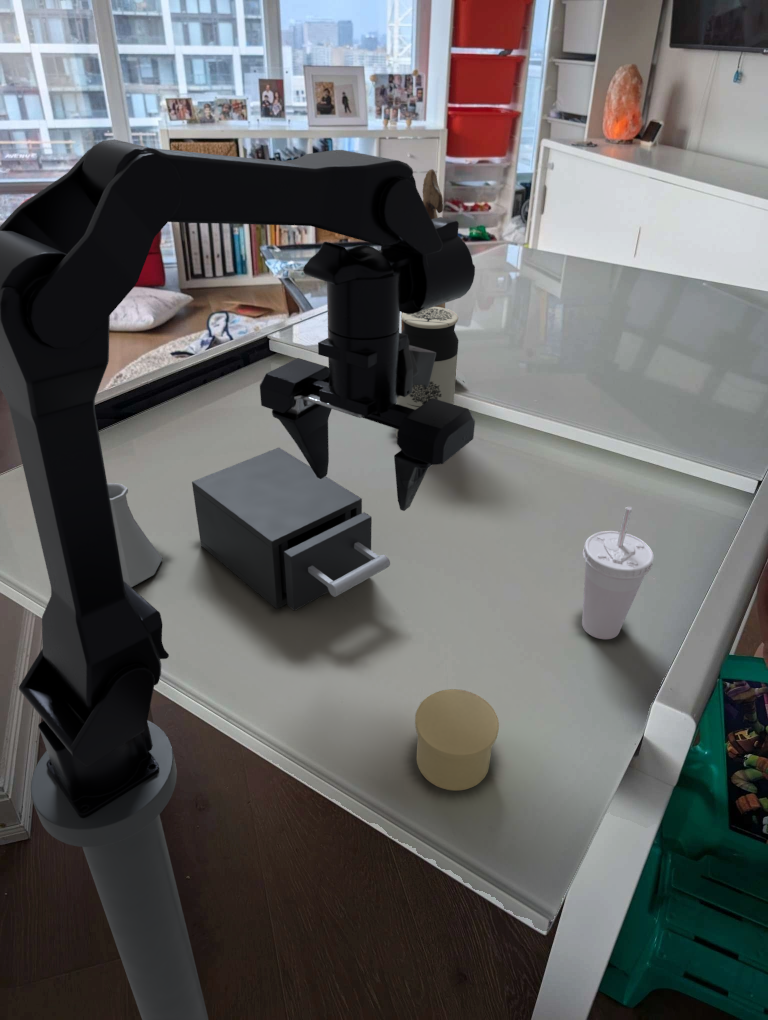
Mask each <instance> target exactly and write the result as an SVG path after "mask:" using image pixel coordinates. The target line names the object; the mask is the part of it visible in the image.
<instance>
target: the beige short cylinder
mask: <svg viewBox="0 0 768 1020" xmlns="http://www.w3.org/2000/svg"><path fill="white" fill-rule="evenodd" d="M414 727H415V730H416V735H417V743H416V744H417V745H416V764H417V767H418V770H419V771H420V773H421V774H422V776H423V777H424V778H425V779H426V780H427V781H428V782H429V783H430V784H432V785H434V786H436V787H438V788H440V789H443V790H447V791H465V790H469V789H471V788H474V787H476V786H477V785H479V784H480V783H481V782H482V781H483V780H484V779H485V777H486V776H487V774H488V772H489V769H490V762H491V756H492V749H493V746H494V744H495V743H496V740H497V738H498V736H499V735H498V734H499V729H500V728H499V727H500V722H499V717H498V715H497V712H496V711H495V709H494V707H493V706H492V705H491V704H490V703H489V702H488V701H487V700H486V699H485V698H484V697H482V696H480V695H479V694H476V693H473V692H472V691H468V690H463V689H453V688H451V689H443V690H439V691H436V692H434V693H431V694H430V695H428V696H426V697H425V698H424V699H423V700H422V701H421V702H420V704H419V705H418V707H417V709H416V711H415V719H414Z"/></svg>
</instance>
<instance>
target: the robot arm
mask: <svg viewBox="0 0 768 1020" xmlns="http://www.w3.org/2000/svg"><path fill="white" fill-rule="evenodd" d="M416 182H417V181H416V179H415V176H414V169H413V167H411V166H410V165H409V164H408V163H407V162H404V161H402V160H398V159H393V158H388V157H382V156H377V155H372V154H366V153H361V152H356V151H351V150H346V149H333V150H326V151H319V152H312V153H306V154H304V155H302V156H300V157H298V158H294V159H288V160H273V159H263V158H252V157H241V156H233V155H224V154H213V153H205V152H203V153H202V152H193V151H186V150H175V149H164V148H154V147H148V146H145V145H141V144H136V143H132V142H129V141H128V142H127V141H123V140H119V139H105V140H102V141H101V140H100V142H98V143H96V144H94V145H93V146H92V147H91V148H89V149H88V150H87V151H86V152H85V153H84V154H83V155H82V156H81V157H80V158H79V159H78V161H77V162H76V163H75V164H74V165H73V166H72V167H71V168H70V169H69V170H68V171H67V172H66V173H65V174H64V175H61V177H59V178H57V179H56V180H55V181H53V182H52V183H50V184H49V185H47V186H46V187H45V188H43V189H42V190H40V191H39V192H37V193H36V194H34V195H32V196H31V197H30V198H28V199H27V200H25V201H24V202H22V203H21V204H20V205H18V206H17V207H16V208H15V209H14V210H13V211H12V212H11V214H10V215H9V216H8V217H7V218H6V219H5V220H4V221H3V222H2V223H1V224H0V391H1V392H2V394H3V396H4V398H5V400H6V402H7V405H8V408H9V412H10V416H11V420H12V425H13V429H14V432H15V434H14V435H15V438H16V442H17V446H18V451H19V455H20V459H21V463H22V469H23V472H24V477H25V481H26V486H27V489H28V495H29V498H30V503H31V506H32V511H33V515H34V519H35V524H36V528H37V533H38V536H39V541H40V546H41V550H42V554H43V559H44V563H45V568H46V571H47V576H48V580H49V584H50V597H49V600H48V602H47V604H46V607H45V609H44V611H43V614H42V616H41V638H42V639H41V641H42V642H41V643H42V648H41V650H40V651H39V653H38V655H37V656H36V658H35V660H34V662H33V663H32V665H31V666H30V668H29V670H28V671H27V673H26V674H25V676H24V678H23V679H22V681H21V683H20V684H19V686H18V691H19V692H20V693H21V694H22V695H23V696H24V698H25V699H26V700H27V701H28V704H30V705H31V706H32V708H33V709H34V710H35V711H36V713H37V714H38V715H39V716H40V717H41V719H42V720H43V721H41V722H40V723H38V729H39V732H40V735H41V738H42V741H43V743H44V746H45V749H46V751H47V753H48V755H49V758H50V759H49V760H48V761H47V764H46V765H47V768H48V770H49V772H50V773H51V775H52V776H53V778H54V779H55V781H56V782H57V784H58V785H59V787H60V788H61V790H62V791H63V793H64V794H65V796H66V797H67V799H68V800H69V802H70V803H71V805H72V806H73V808H74V810H75V811H76V813H77V814H78V816H79V817H80V818H86V817H88V816H90V815H92V814H93V813H95V812H96V811H98V810H100V809H101V808H103V807H104V806H106V805H108V804H109V803H111V802H112V801H114V800H116V799H117V798H119V797H120V796H122V795H124V794H125V793H127V792H128V791H130V790H132V789H133V788H135V787H136V786H138V785H140V784H141V783H143V782H144V781H146V780H148V779H149V778H151V777H152V776H154V775H156V774H157V773H158V772H159V765H158V763H157V762H156V760H155V759H154V758H153V757H152V755H151V754H150V753H149V752H148V751H150V750H152V747H153V744H152V739H151V735H150V731H149V726H148V722H147V720H148V721H149V713H150V708H151V704H152V699H153V695H154V689H155V686H157V685H158V684H159V682H160V679H161V675H162V660H167V659H169V657H170V655H169V653H168V652H167V650H166V649H165V647H164V644H163V638H162V637H163V620H162V616H161V612H160V611H158V609H157V608H156V607H154V606H153V605H152V604H151V603H150V602H148V601H147V599H145V598H144V597H143V596H142V595H140V593H138V592H137V591H136V590H135V589H134V588H133V587H130V586H129V585H128V584H127V583H126V582H124V581H123V575H122V569H121V563H120V557H119V551H118V545H117V539H116V533H115V527H114V521H113V515H112V509H111V503H110V497H109V491H108V485H107V484H108V479H107V474H106V467H105V463H104V457H103V451H102V444H101V438H100V432H99V425H98V420H97V414H96V397H97V394H98V391H99V390H100V389H99V388H100V386H101V384H102V382H103V381H102V380H103V378H104V375H105V373H106V370H107V368H108V365H109V362H110V326H111V325H110V324H111V322H110V319H111V315H112V313H113V312H114V311H115V310H116V308H118V306H119V305H120V304H121V303H122V302H123V300H124V299H125V298H126V297H127V296H128V295H129V294H130V293H131V292H132V290H133V289H134V288H135V286H136V285H137V283H138V282H139V279H140V277H141V274H142V271H143V268H144V267H145V264H146V261H147V258H148V256H149V253H150V250H151V248H152V245H153V243H154V240H155V238H156V237H157V235H158V234H160V232H161V231H162V230H163V228H164V227H165V226H166V225H167V224H168V223H183V224H184V223H185V224H186V223H187V224H188V223H189V224H223V225H225V224H226V225H227V224H229V225H260V226H261V225H262V226H292V227H293V226H296V227H297V226H298V227H313V228H317V229H320V230H323V231H328V232H330V233H335V234H338V235H341V236H344V237H348V238H351V239H352V238H353V239H356V240H359V241H363V242H367V243H370V244H374V245H377V246H380V249H379V250H378V249H377V248H376V247H373V246H371V245H367V244H360V245H355V246H351V247H347V248H346V247H345V246H342V245H339V244H335V243H332V242H329V241H324V242H323V243H322V244H321V245H320V248H319V250H318V251H317V252H316V253H315V254H314V255H313V256H311V257H310V258H309V259H308V260H307V262H306V263H305V265H304V266H303V268H302V271H303V273H304V275H306V276H308V277H311V278H314V279H317V280H320V281H323V282H326V299H327V300H326V301H327V303H326V305H327V337H326V338H324V339H322V340H320V341H318V342H317V350H318V351H317V353H318V355H319V356H322V357H325V358H328V366H326V365H323V364H320V363H317V362H313V361H309V360H306V359H304V358H300V357H297V358H295V359H293V360H291V361H289V362H287V363H284V364H283V365H280V366H279V367H277V368H274V369H272V370H270V371H268V372H266V373H265V375H264V376H263V378H262V380H261V381H260V384H259V395H260V406H261V407H264V408H266V409H270V410H271V414H272V417H273V418H274V419H278V421H279V422H280V423H281V425H282V426H283V427H284V429H285V430H286V431H287V433H288V434H289V436H290V437H291V438H292V440H293V441H294V443H295V444H296V446H297V447H298V449H299V451H300V452H301V454H302V455H303V456H304V459H305V460H306V462H307V463H308V466H310V467H311V468H312V470H313V471H314V473H315V475H316V476H317V478H319V479H322V478H324V477H325V476H326V477H327V476H328V472H329V463H330V462H329V461H330V458H329V457H330V453H329V452H330V451H329V449H330V448H329V446H330V445H329V418H330V415H331V412H332V410H334V411H338V412H339V413H340V412H341V413H344V414H347V415H349V416H352V417H355V418H359V419H361V418H362V419H365V420H368V421H371V422H374V423H377V424H380V425H384V426H386V427H390V428H392V429H394V430H396V429H398V432H397V437H396V440H397V441H396V444H397V446H398V448H399V449H400V451H398V452H396V453H395V454H394V455H393V457H394V458H393V459H394V460H393V461H394V472H395V482H396V496H397V502H398V506H399V510H400V511H403V512H405V511H406V510H408V509H409V508H410V507H411V505H412V503H413V501H414V499H415V497H416V494H417V492H418V490H419V489H420V486H421V484H422V482H423V480H424V477H425V476H426V474H427V472H428V470H429V468H430V467H432V466H435V465H443V464H445V463H446V462H447V461H448V460H450V459H451V458H452V457H453V456H454V455H455V454H457V453H459V452H460V450H462V449H463V448H464V447H466V446H467V445H468V444H469V443H470V442H472V441H473V440H474V437H475V426H476V421H475V418H474V415H473V413H472V412H471V411H470V409H469V408H466V407H463V406H460V405H457V404H455V403H454V404H450V403H447V402H444V401H440V400H437V399H434V398H432V399H431V400H429V401H428V402H426V403H425V404H423V405H422V406H420V407H419V408H417V409H416V410H415V409H411V408H408V407H405V406H402V405H398V404H397V397H399V396H402V397H406V396H407V395H409V394H411V393H412V386H413V385H423V387H429V383H430V379H431V374H432V370H433V366H434V361H435V357H436V352H433V351H430V350H426V349H422V348H418V347H415V346H411V345H409V339H408V335H406V334H402V333H401V332H400V324H401V322H400V321H401V313H402V312H403V313H406V314H413V313H417V312H420V311H423V310H426V309H429V308H432V307H434V306H437V305H440V304H443V303H445V304H446V303H449V302H452V301H454V300H458V299H461V298H462V297H464V296H465V295H467V294H468V292H469V291H470V289H471V287H472V286H473V283H474V279H475V275H476V266H475V264H474V261H473V257H472V254H471V251H470V249H469V247H468V246H467V244H466V242H465V241H464V240H463V239H462V238H461V237H460V236H459V226H460V224H459V221H458V220H454V219H450V218H446V217H442V216H438V218H434V219H431V218H430V215H429V213H428V211H427V209H426V207H425V205H424V203H423V198H422V197H421V194H420V192H419V191H418V189H417V183H416ZM153 767H154V769H152V770H150V769H151V768H153ZM84 809H87V810H86V811H85V812H82V811H83V810H84Z"/></svg>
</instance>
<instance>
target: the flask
mask: <svg viewBox="0 0 768 1020" xmlns="http://www.w3.org/2000/svg"><path fill="white" fill-rule="evenodd" d="M107 485H108V491H109V497H110V503H111V509H112V515H113V521H114V527H115V533H116V539H117V545H118V551H119V557H120V563H121V569H122V575H123V581H124V582H126V583H127V584H128V585H129V586H130V587H131V588H133V587H135V586H136V585H138V584H140V583H142V582H144V581H145V580H147V579H149V578H151V577H153V576H154V575H156V573H157V570H158V569H159V566H160V565H161V563H162V560H163V557H162V556H161V554H160V553H159V551H158V550H157V549H156V547H155V546H154V545H153V543H152V542H151V541H150V539H149V538H148V537H147V535H146V534H145V532H144V531H143V530H142V528H141V526H140V525H139V523H138V522H137V521H136V519H135V517H134V515H133V513H132V510H131V509H130V506H129V502H128V499H127V494H128V493H129V488H128V487H127V486H125V485H124V484H122V483H115V482H114V483H113V482H107Z"/></svg>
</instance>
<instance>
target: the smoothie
mask: <svg viewBox="0 0 768 1020" xmlns="http://www.w3.org/2000/svg"><path fill="white" fill-rule="evenodd" d="M632 510H633V508H632V506H626V507H625V508H624V512H623V513H624V514H623V517H622V522H621V525H620V529H619V531H617V530H604V531H603V530H602V531H598V532H595V533H593V534H592V535H590V536H588V538H587V539H586V540H585V542H584V547H583V549H582V557H583V559H584V561H585V564H584V581H583V585H584V587H583V600H582V601H583V602H582V617H581V619H582V620H581V626H582V628H583V630H584V632H586V633H587V635H590V636H591V637H593V638H596V639H600V640H611V639H614V638H616V637H617V636H618V635H619V634H620V632H621V630H622V627H623V625H624V623H625V621H626V619H627V616H628V614H629V612H630V609H631V607H632V605H633V602H634V600H635V598H636V596H637V593H638V592H639V589H640V586H641V585H642V584H643V583H642V582H643V580H644V578H645V576H647V574H648V573H649V572H650V571H651V570H652V569H653V562H654V557H655V555H654V552H653V550H652V548H651V547H650V546H649V545H648V544H647V543H646V541H644V540H642V539H641V538H639V537H637V536H635V535H634V534H633V535H632V534H630V533H627V532H628V531H627V530H628V526H629V523H630V518H631V515H632Z"/></svg>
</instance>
